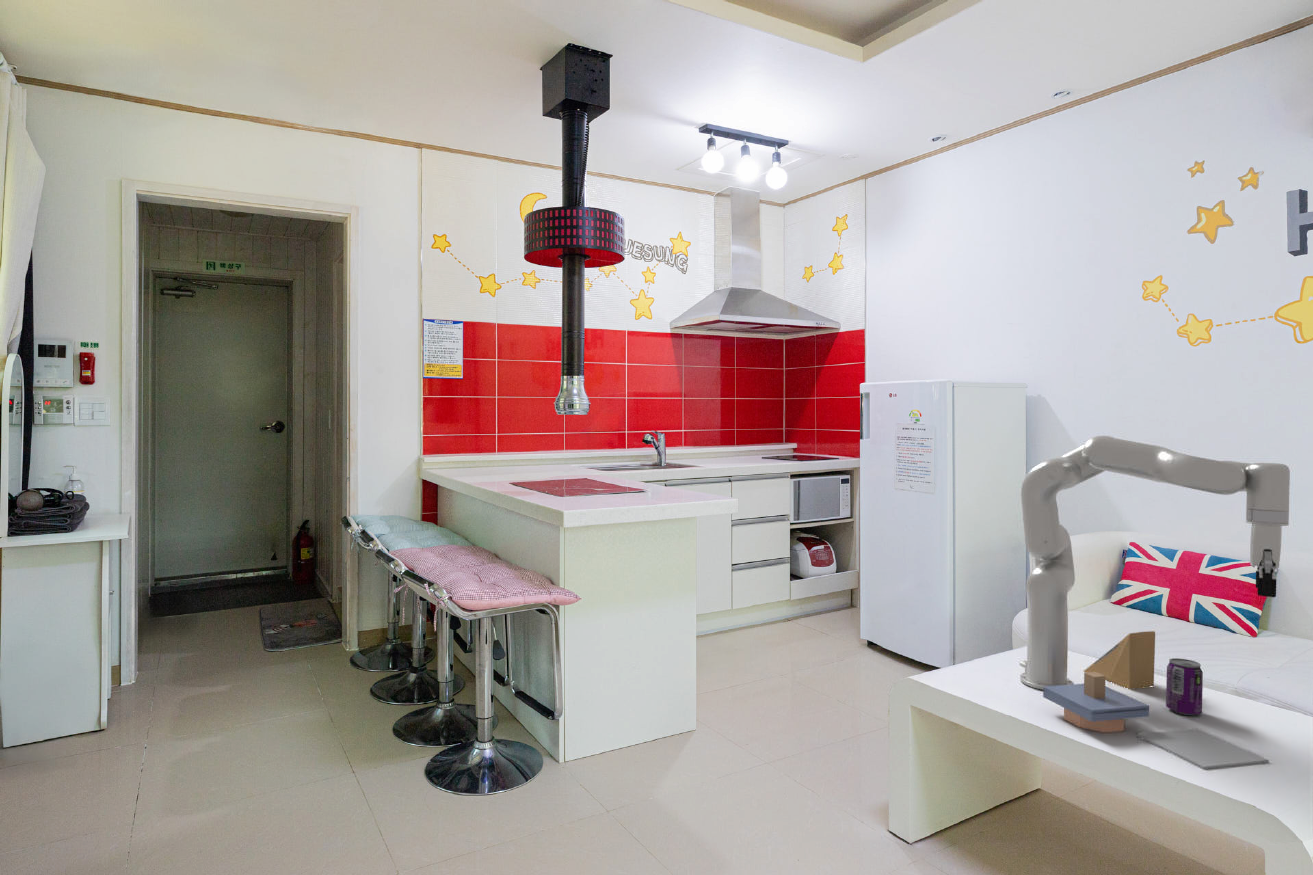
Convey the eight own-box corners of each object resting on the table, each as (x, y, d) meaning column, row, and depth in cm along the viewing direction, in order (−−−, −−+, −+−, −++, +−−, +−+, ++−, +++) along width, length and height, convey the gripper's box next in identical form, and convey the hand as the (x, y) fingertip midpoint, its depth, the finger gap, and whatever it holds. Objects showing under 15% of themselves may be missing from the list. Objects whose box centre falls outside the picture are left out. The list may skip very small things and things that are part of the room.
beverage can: (1208, 718, 176) (1209, 667, 175) (1174, 716, 177) (1175, 665, 177) (1192, 707, 183) (1193, 658, 182) (1160, 704, 184) (1161, 656, 184)
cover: (1043, 696, 179) (1043, 665, 179) (1096, 692, 182) (1097, 662, 182) (1091, 721, 165) (1091, 687, 164) (1148, 716, 168) (1149, 683, 168)
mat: (1137, 736, 165) (1137, 733, 165) (1197, 730, 169) (1197, 728, 169) (1203, 769, 150) (1203, 766, 150) (1268, 762, 153) (1268, 759, 153)
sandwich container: (1106, 668, 212) (1107, 616, 211) (1155, 687, 197) (1156, 630, 196) (1081, 671, 209) (1082, 618, 209) (1128, 690, 195) (1129, 633, 194)
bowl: (1053, 713, 178) (1053, 692, 178) (1096, 709, 181) (1096, 689, 180) (1091, 733, 167) (1092, 711, 166) (1137, 729, 169) (1137, 707, 169)
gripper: (1245, 512, 179) (1243, 583, 179) (1247, 519, 165) (1245, 596, 165) (1286, 515, 174) (1284, 588, 175) (1291, 522, 161) (1289, 601, 161)
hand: (1265, 592), depth 170 cm, fingers open, 9 cm apart
